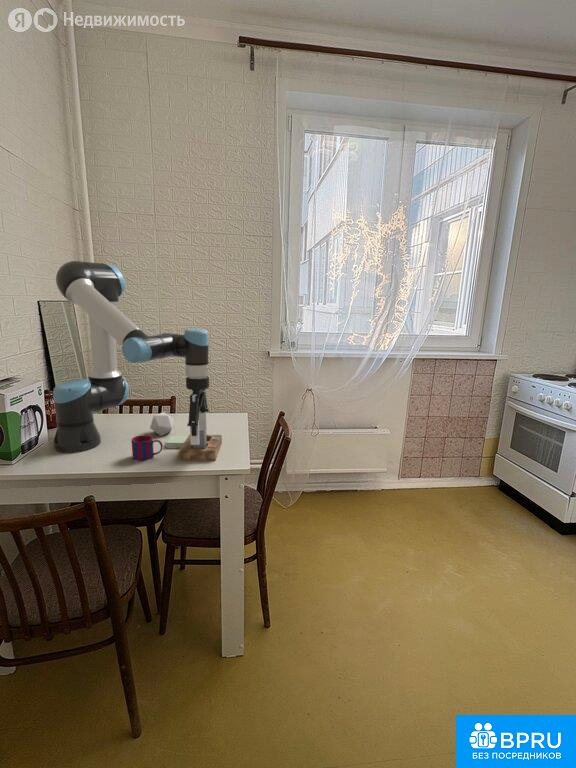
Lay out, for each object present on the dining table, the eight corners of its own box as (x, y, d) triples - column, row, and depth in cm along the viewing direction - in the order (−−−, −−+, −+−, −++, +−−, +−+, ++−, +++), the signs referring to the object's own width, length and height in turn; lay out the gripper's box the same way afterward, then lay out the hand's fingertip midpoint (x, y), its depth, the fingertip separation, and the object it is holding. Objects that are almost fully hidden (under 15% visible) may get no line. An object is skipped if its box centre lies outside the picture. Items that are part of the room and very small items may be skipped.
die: (177, 436, 151) (179, 413, 156) (159, 431, 145) (162, 406, 149) (162, 440, 156) (165, 417, 160) (144, 435, 149) (147, 411, 153)
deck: (166, 447, 139) (165, 442, 138) (171, 440, 145) (171, 435, 145) (185, 448, 139) (185, 442, 138) (189, 440, 146) (189, 435, 145)
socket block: (179, 460, 129) (179, 449, 128) (189, 443, 143) (189, 434, 142) (215, 460, 129) (215, 450, 128) (221, 443, 144) (221, 434, 143)
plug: (193, 457, 131) (192, 430, 128) (195, 453, 135) (194, 426, 132) (204, 458, 131) (204, 430, 129) (206, 453, 135) (206, 426, 132)
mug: (138, 452, 134) (137, 434, 132) (166, 454, 133) (165, 436, 131) (128, 460, 127) (127, 441, 126) (157, 462, 126) (156, 443, 125)
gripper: (201, 385, 114) (203, 451, 119) (214, 369, 139) (215, 424, 143) (176, 384, 114) (179, 451, 119) (194, 369, 138) (195, 424, 143)
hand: (199, 436), depth 131 cm, fingers open, 13 cm apart
